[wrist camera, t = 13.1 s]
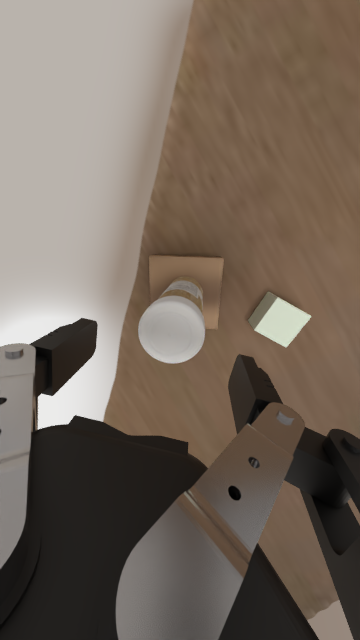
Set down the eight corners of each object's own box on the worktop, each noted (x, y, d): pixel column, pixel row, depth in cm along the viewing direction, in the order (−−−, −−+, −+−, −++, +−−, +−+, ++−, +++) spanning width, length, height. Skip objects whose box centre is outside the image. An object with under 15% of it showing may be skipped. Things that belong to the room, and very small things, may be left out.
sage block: (267, 291, 29) (277, 297, 25) (297, 307, 30) (311, 316, 26) (247, 320, 31) (254, 330, 27) (275, 335, 31) (286, 347, 27)
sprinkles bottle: (195, 315, 27) (190, 375, 14) (162, 303, 27) (128, 352, 14) (208, 283, 25) (216, 317, 13) (174, 269, 25) (147, 290, 13)
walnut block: (155, 254, 29) (149, 255, 25) (220, 257, 28) (223, 258, 24) (156, 316, 32) (150, 325, 28) (215, 319, 31) (217, 329, 27)
